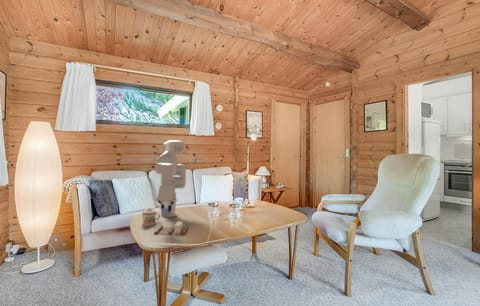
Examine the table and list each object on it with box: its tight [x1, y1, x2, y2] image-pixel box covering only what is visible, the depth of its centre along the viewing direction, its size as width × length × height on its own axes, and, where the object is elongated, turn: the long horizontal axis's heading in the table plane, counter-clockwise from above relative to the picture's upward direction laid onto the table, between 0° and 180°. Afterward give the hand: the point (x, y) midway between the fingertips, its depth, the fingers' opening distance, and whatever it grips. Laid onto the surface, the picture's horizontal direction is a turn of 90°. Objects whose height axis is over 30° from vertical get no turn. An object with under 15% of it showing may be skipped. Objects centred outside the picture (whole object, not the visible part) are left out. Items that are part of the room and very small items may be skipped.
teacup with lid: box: [142, 207, 161, 227], centre depth 171 cm, size 12×9×12 cm
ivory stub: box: [173, 220, 184, 234], centre depth 155 cm, size 9×4×5 cm, turn 2°
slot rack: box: [153, 224, 189, 236], centre depth 155 cm, size 14×19×2 cm
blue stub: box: [160, 206, 170, 218], centre depth 155 cm, size 9×4×5 cm, turn 3°
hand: (166, 210), depth 154 cm, fingers closed on blue stub, 3 cm apart
